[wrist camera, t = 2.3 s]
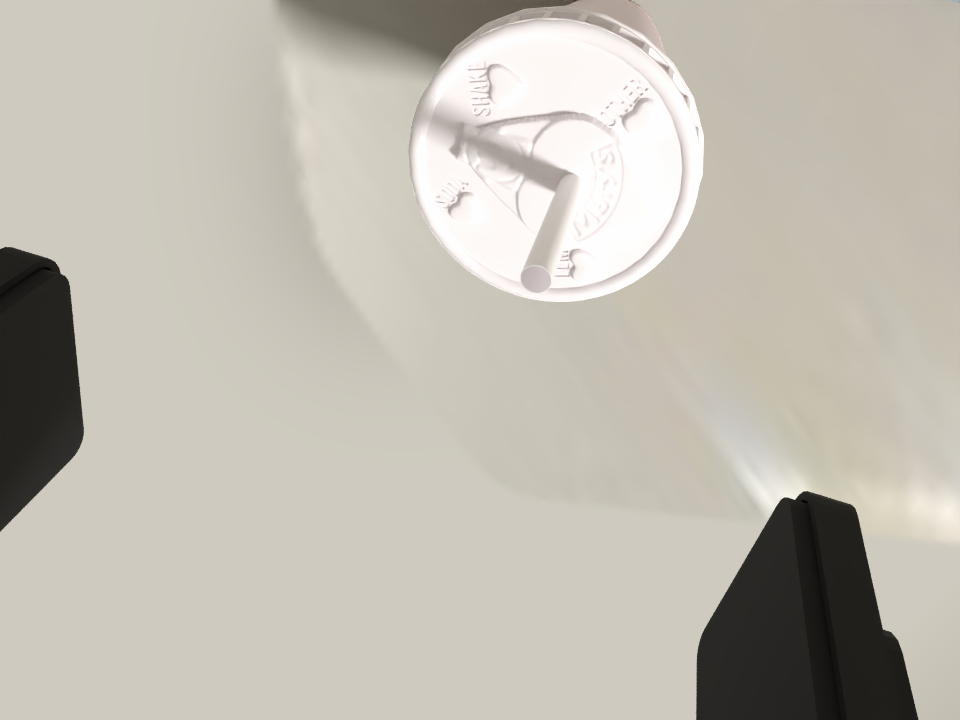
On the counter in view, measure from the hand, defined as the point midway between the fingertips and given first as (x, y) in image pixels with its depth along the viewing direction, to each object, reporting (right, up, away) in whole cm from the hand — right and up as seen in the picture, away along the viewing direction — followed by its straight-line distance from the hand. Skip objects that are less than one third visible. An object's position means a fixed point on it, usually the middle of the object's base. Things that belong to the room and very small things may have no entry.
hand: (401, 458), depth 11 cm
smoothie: (+5, +11, +15) cm, 19 cm away
